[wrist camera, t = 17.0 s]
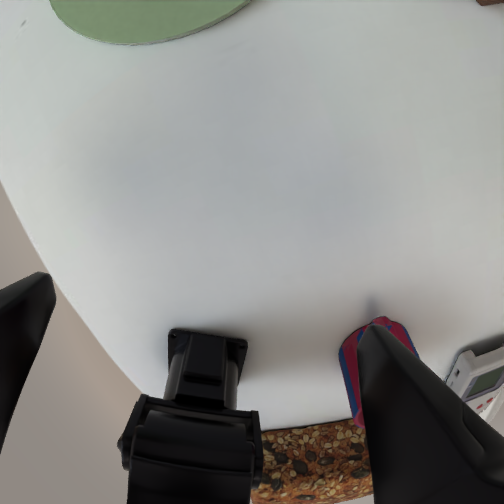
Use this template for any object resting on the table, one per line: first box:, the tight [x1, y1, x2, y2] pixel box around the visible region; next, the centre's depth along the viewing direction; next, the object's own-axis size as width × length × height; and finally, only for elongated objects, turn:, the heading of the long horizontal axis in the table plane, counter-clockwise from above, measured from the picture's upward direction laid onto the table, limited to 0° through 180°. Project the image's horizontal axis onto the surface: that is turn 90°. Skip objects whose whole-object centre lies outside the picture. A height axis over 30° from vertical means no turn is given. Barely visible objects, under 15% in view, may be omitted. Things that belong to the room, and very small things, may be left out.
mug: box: [339, 316, 420, 429], centre depth 22 cm, size 7×10×7 cm
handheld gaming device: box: [446, 342, 504, 415], centre depth 28 cm, size 9×15×4 cm, turn 8°
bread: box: [250, 419, 373, 504], centre depth 31 cm, size 19×11×10 cm, turn 98°
